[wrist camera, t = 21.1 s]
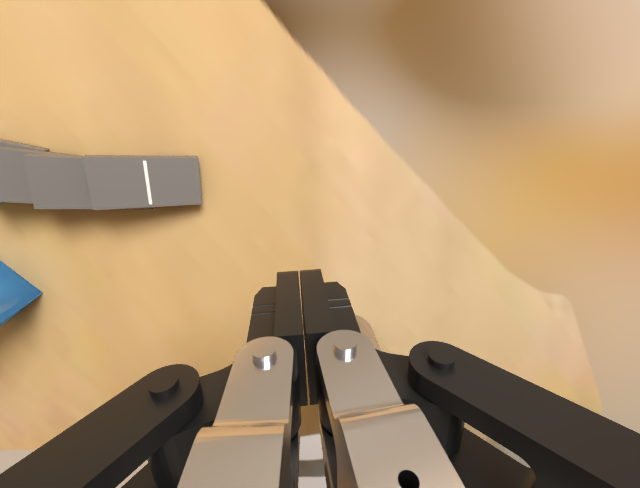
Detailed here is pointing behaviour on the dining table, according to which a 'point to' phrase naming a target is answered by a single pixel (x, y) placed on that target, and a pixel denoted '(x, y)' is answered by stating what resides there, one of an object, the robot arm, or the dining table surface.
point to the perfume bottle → (14, 293)
